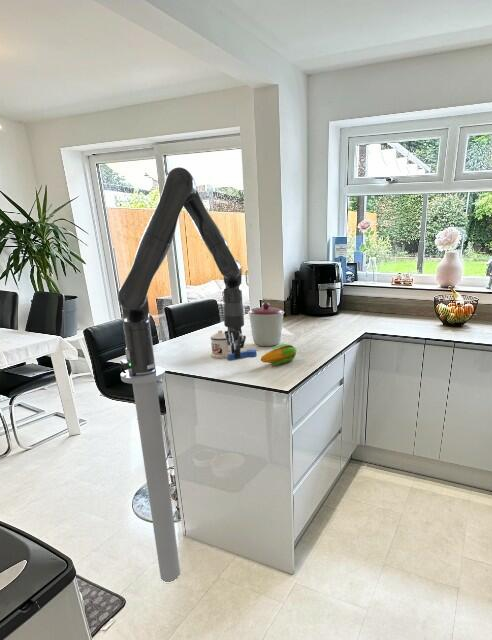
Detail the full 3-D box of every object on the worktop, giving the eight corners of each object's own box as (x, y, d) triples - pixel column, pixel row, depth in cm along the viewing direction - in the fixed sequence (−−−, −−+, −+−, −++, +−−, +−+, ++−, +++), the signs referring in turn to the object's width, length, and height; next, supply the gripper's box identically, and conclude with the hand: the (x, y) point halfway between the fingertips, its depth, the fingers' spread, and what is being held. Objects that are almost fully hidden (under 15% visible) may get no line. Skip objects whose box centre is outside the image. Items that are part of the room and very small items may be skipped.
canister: (270, 350, 191) (269, 306, 184) (241, 345, 199) (239, 303, 192) (291, 343, 205) (291, 301, 198) (263, 338, 214) (262, 299, 207)
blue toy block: (230, 361, 153) (230, 355, 153) (225, 359, 156) (225, 353, 156) (258, 356, 161) (258, 350, 160) (253, 354, 164) (253, 348, 163)
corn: (300, 342, 173) (267, 351, 159) (301, 359, 175) (268, 369, 161) (288, 341, 177) (254, 349, 163) (289, 357, 180) (256, 367, 166)
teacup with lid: (207, 356, 180) (205, 330, 176) (222, 352, 187) (220, 327, 183) (226, 360, 174) (224, 334, 170) (240, 356, 181) (239, 330, 177)
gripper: (216, 312, 154) (219, 355, 160) (233, 317, 144) (236, 363, 149) (233, 310, 158) (236, 352, 164) (251, 315, 148) (253, 359, 154)
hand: (236, 357), depth 157 cm, fingers closed on blue toy block, 2 cm apart
